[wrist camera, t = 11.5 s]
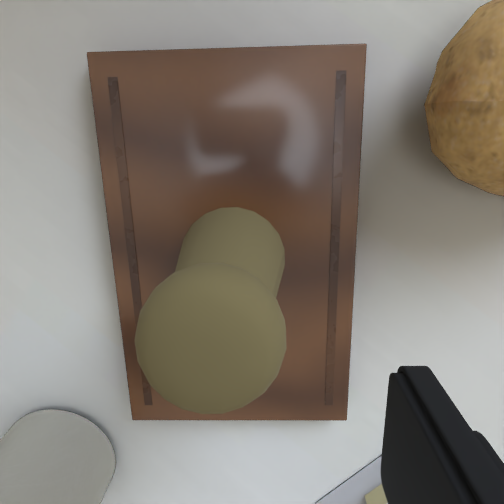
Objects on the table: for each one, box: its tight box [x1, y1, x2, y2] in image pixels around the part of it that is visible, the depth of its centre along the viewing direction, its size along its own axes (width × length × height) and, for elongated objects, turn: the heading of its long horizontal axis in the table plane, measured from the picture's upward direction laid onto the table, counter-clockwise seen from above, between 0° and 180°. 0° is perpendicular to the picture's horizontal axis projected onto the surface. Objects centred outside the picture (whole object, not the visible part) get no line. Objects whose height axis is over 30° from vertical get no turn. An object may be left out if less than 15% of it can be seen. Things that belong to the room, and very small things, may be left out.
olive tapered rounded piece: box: [135, 207, 287, 414], centre depth 17 cm, size 6×6×11 cm
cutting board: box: [87, 44, 367, 420], centre depth 23 cm, size 22×14×2 cm, turn 1°
